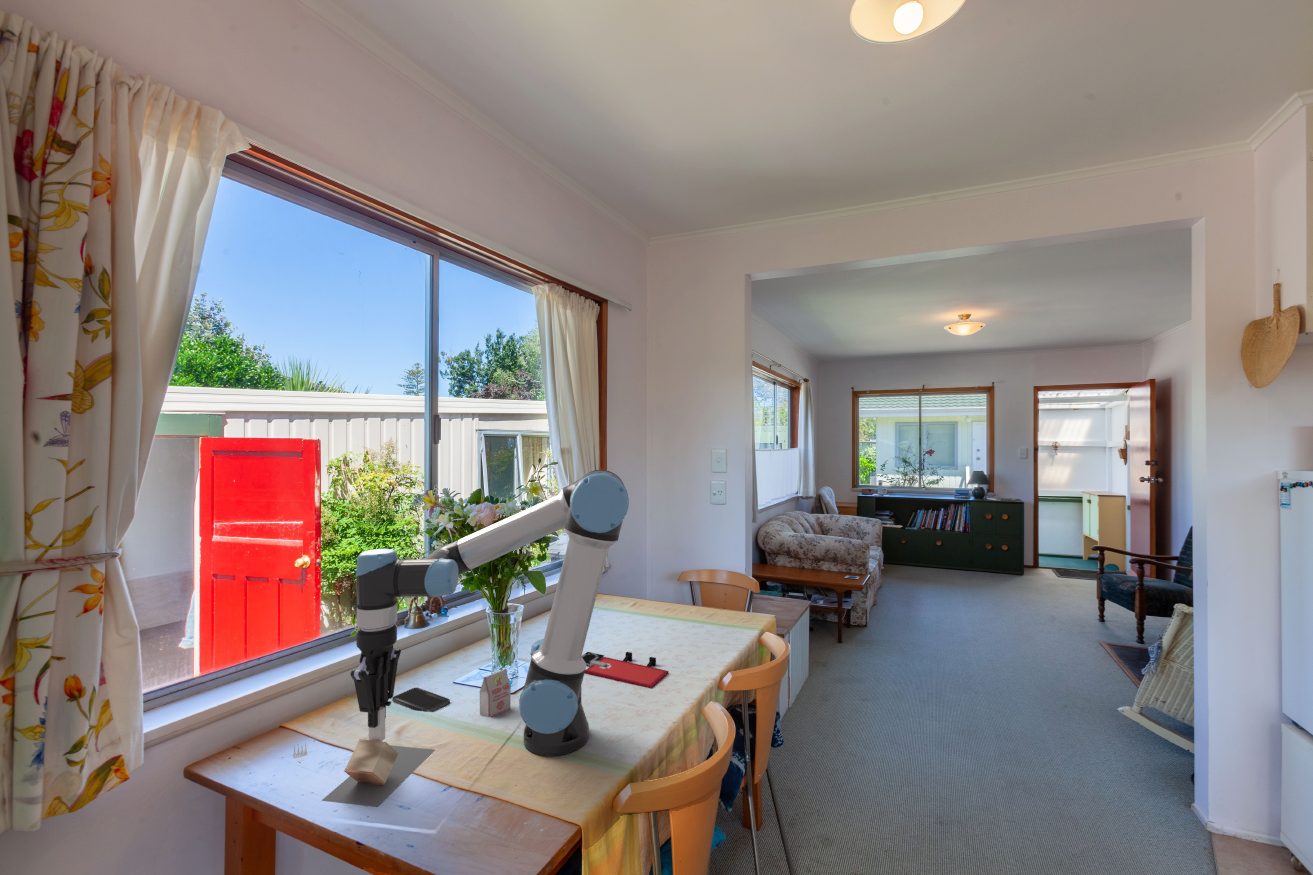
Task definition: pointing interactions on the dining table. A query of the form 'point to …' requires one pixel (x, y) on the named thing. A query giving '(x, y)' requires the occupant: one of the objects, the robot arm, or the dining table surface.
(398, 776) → the mat
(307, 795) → the dining table surface
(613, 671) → the red board with handle
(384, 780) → the cube
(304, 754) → the fork
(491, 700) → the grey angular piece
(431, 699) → the phone
